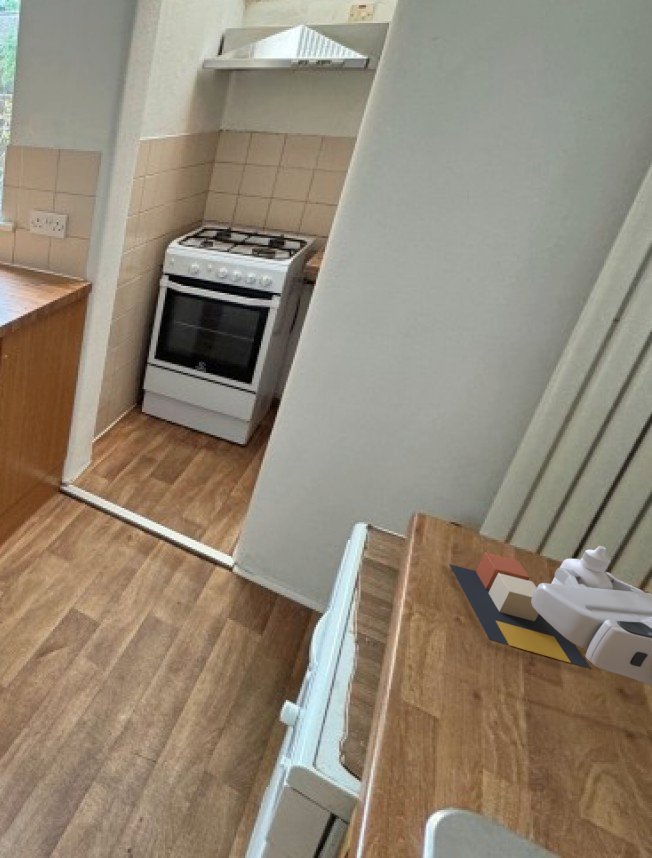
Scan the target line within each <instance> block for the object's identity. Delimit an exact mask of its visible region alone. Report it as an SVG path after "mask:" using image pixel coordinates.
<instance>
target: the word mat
mask: <svg viewBox="0 0 652 858" xmlns="http://www.w3.org/2000/svg"><path fill="white" fill-rule="evenodd" d="M448 565H449V567H450V569H451V571H452V572H453V575H454V576H455V578H456V580H457V582H458V585H460V588H461V589H462V591H463V593H464V595H465V597H466V599H467V601H468V602H469V604H470V606H471V608H472V611H473V612H474V615H476V618H477V619H478V622H479V623H480V625H481V627H482V628H483V630H484V632H485V634H486V636H487V638H488V640H489V641H492V642H496V643H499V644H503V645H507V646H509V647H513V648H517V649H519V650H524V651H527V652H530V653H534V654H537V655H540V656H544V657H548V658H551V659H554V660H558V661H561V662H563V663H564V662H565V663H568V664H572V665H575V666H579V667H583V668H586V669H590V670H592V667H591V666H590V664H589V663H588V661H587V659H586V658H585V656H583V654H582V652H581V651H580V650H579V648H578V646H577V645H575V644H573V643H572V642H570V641H569V640H567V639H566V638H565V637H564V636H562V635H561V634H560V633H559V632H558V631H557V630H556V629H555V628H553V627H552V626H551V625H550V624H549V623H548V622H547V621H546V620H545V619H544V618H543V617H542V616H541V615H540V614H538V616H537V618H536V620H535V621H531V620H527V619H524V618H520V617H516V616H513V615H509V614H505V613H502V612H499V610H498V609H497V607H496V605H495V603H494V602H493V600H492V598H491V597H490V595H489V591H490V590H489V589H486V588H485V586H484V585H483V583H482V581H481V580H480V578H479V576H478V574H477V573H476V570H475V569H470V568H466V567H463V566H459V565H454V564H448Z"/></svg>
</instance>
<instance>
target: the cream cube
mask: <svg viewBox="0 0 652 858" xmlns="http://www.w3.org/2000/svg"><path fill="white" fill-rule="evenodd" d="M537 587H538V586H536V584H535V583H534V582H533V581H531V580H524V579H520V578H516V577H512V576H508V575H504V574H500V573H498V574H497V576H496V579H495V581H494V583H493V585H492V587H491V589H490V591H489V595H490V597H491V598H492V600H493V602H494V603H495V605H496V607H497V609H498V610H499V612H502V613H505V614H509V615H513V616H516V617H520V618H524V619H527V620H531V621H535V620H536V618H537V616H538V614H539V613H538V612H537V611H536V610H535V609H534V608H533V606H532V603H531V599H532V596H533V594H534V592H535V590H536V588H537Z"/></svg>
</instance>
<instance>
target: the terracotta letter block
mask: <svg viewBox="0 0 652 858" xmlns="http://www.w3.org/2000/svg"><path fill="white" fill-rule="evenodd" d="M475 571H476V573H477V574H478V576H479V578H480V580H481V581H482V583H483V585H484V586H485V588H486V589H489V590H490V589H491V587H492V585H493V583H494V581H495V579H496V576H497V574H498V573H500V574H504V575H508V576H512V577H516V578H520V579H524V580H528V581H530V578H531V577H530V576H529V574H528V573H527V571H526V570H525V568H524V567H523V566H522V564H521V562H520V561H519V560H518V559H514V558H511V557H507V556H503V555H498V554H494V553H492V552H491V553H490V552H487V551H484V553H483V556H482V557H481V559H480V562H479V564H478V566H477V568H476V570H475Z"/></svg>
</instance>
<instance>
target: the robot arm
mask: <svg viewBox="0 0 652 858" xmlns="http://www.w3.org/2000/svg"><path fill="white" fill-rule="evenodd" d="M604 573H605V574H606V575H607V576H608V578H609V579H610V581H611V583H612V586H613V589H612V590H610V589H600V588H589V587H586V586H585V585H583V584H578V582H577V581H578V580H579V579H580V577H581V576H579V575H578V574H577V573H575V572H574V571H573V570H572V569H566V568H560V567H557V569H556V570H555V572H554V577H556V579H558V580H559V581H560V582H561V583H562V584H563V585H558V584H551V583H549V582H541V583H539V584H538V586H536V587H537V588H536V590H535V592H534V594H533V596H532V599H531V603H532V606H533V608H534V609H535V610H536V611H537V612H538V613H539V614H540V615H541V616H542V617H543V618H544V619H545V620H546V621H547V622H548V623H549V624H550V625H551V626H552V627H553V628H555V629H556V630H557V631H558V632H559V633H560V634H561V635H562V636H564V637H565V638H566V639H567V640H569V641H570V642H572V643H573V644H575V645H576V647H579V648H581V649H584V650H585V651H586V652H585V655H584V657H585V659H586V660H588V661H589V662H590V663H591V664H592V665H593V666H594V667H596V668H597V669H600V670H603V671H607V672H609V673H613V674H616V675H620V676H623V677H626V678H629V679H632V680H635V681H637V682H640V683H642V684H645V685H646V686H649V687H652V593H650V592H645V591H643V590H642V589H641V588H638V587H636V586H633V585H632V584H629V583H627V582H625V581H622V580H620V579H619V578H617V577H616V576H614V575H613V574H612V573H611V572H608V571H605V572H604Z"/></svg>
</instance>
